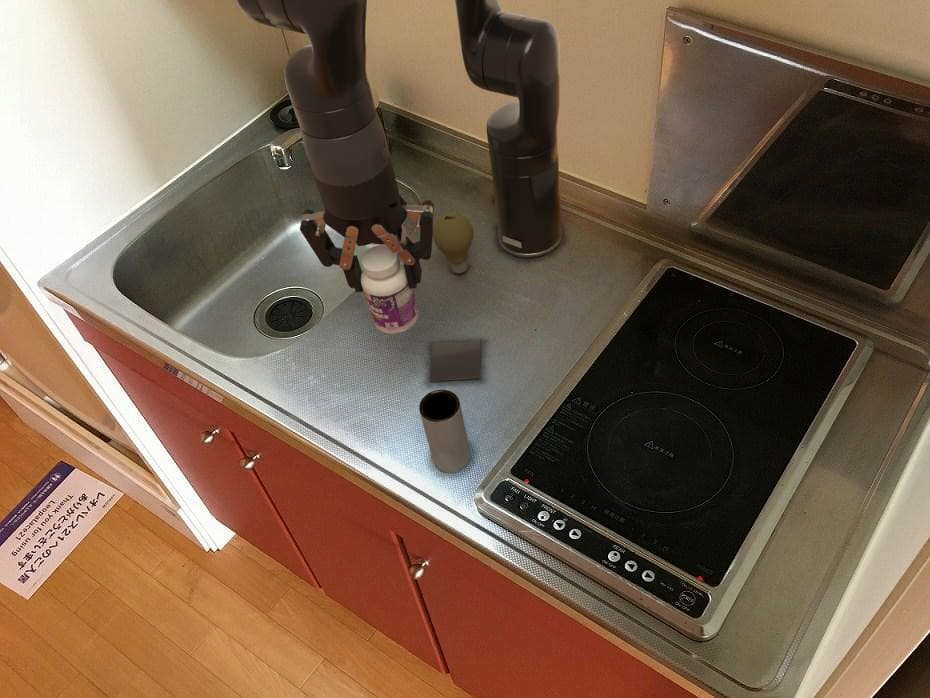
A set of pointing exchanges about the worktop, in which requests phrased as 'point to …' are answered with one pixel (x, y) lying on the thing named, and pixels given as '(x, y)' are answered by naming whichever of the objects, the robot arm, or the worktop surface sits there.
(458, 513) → the worktop surface
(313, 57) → the robot arm
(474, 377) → the metal coaster
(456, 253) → the light bulb
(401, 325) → the pill bottle
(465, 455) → the grey hollow cylinder
